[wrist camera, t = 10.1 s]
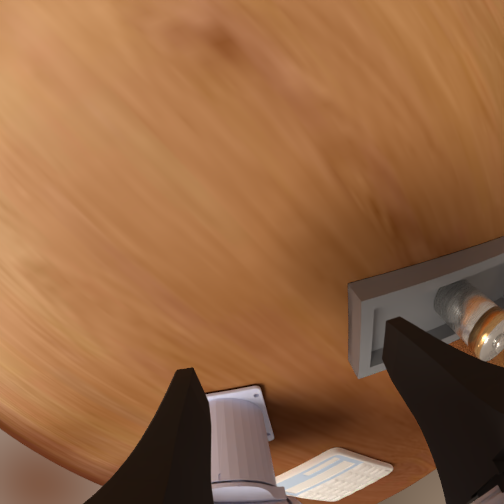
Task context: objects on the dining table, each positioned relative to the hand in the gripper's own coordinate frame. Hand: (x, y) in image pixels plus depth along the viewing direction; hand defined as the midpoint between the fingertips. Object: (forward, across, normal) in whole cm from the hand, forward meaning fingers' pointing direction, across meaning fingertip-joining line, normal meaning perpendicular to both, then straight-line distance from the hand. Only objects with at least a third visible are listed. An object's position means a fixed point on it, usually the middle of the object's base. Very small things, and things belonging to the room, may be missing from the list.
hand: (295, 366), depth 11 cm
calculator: (+11, -5, +40) cm, 42 cm away
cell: (+10, -16, +8) cm, 20 cm away
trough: (+10, -16, +8) cm, 21 cm away
